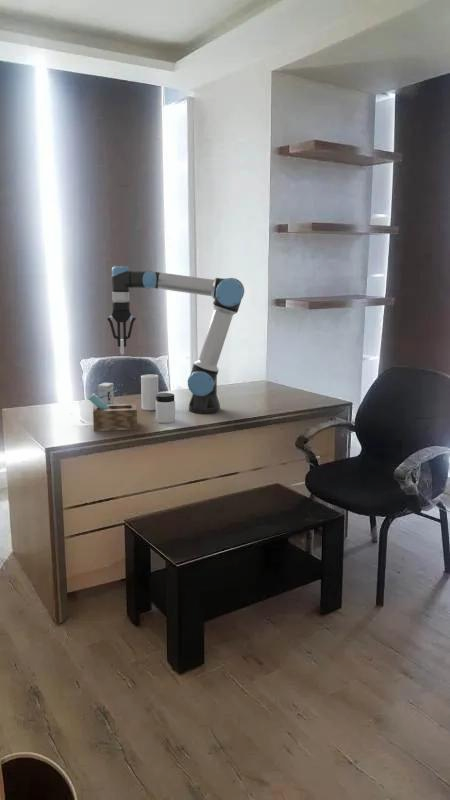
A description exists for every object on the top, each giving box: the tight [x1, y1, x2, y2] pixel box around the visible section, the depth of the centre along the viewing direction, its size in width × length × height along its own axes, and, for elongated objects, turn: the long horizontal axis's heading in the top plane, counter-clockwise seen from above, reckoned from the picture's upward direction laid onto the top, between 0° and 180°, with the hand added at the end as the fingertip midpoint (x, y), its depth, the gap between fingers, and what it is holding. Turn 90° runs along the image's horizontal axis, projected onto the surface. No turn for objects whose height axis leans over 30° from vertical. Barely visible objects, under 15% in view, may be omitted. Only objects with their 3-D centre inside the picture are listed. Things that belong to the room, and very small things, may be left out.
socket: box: [92, 403, 138, 432], centre depth 263 cm, size 18×12×8 cm, turn 102°
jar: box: [155, 392, 176, 424], centre depth 273 cm, size 9×8×12 cm
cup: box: [140, 373, 159, 411], centre depth 297 cm, size 8×8×16 cm
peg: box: [88, 393, 111, 409], centre depth 261 cm, size 3×3×16 cm
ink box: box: [97, 382, 115, 405], centre depth 297 cm, size 9×5×12 cm, turn 168°
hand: (122, 353), depth 279 cm, fingers closed
